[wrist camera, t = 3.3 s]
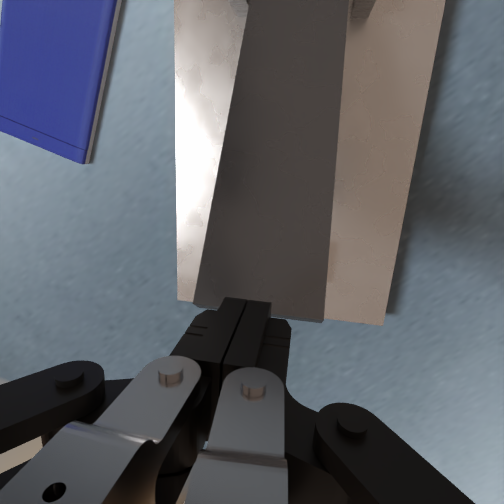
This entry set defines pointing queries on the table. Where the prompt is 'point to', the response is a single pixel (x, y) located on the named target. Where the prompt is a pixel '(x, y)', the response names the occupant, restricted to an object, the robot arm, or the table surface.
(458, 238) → the table surface
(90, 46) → the hard drive
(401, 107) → the mounting plate
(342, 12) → the flat pivoting pedal
